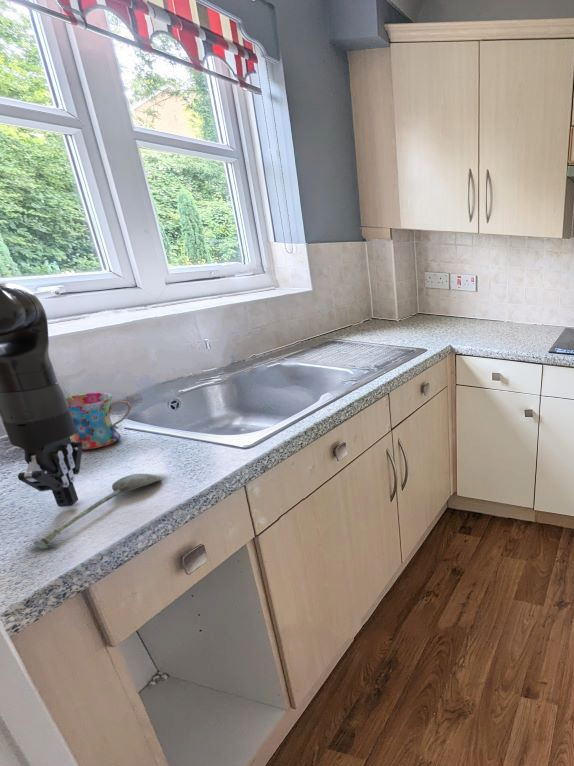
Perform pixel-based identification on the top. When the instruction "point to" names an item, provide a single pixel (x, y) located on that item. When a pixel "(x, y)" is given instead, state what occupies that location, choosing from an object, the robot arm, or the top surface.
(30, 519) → the top surface
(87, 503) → the top surface
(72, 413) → the mug
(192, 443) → the top surface
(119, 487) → the soupspoon
